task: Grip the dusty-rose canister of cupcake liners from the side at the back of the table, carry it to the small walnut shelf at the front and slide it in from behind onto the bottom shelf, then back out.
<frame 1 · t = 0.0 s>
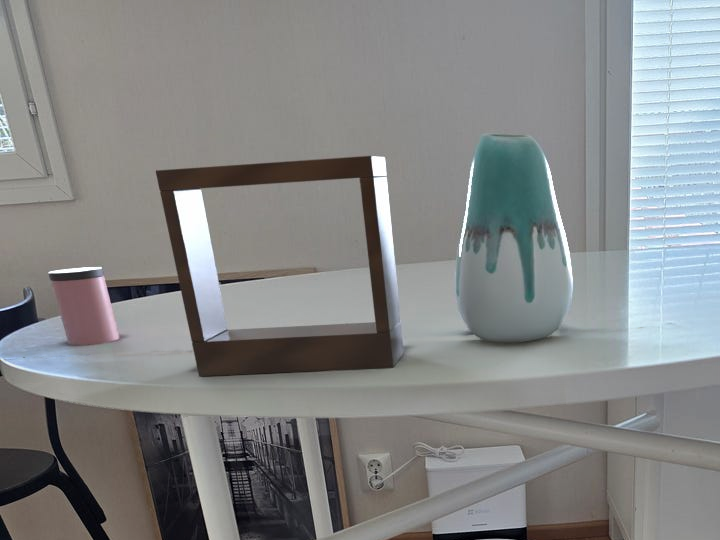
shelf: (304, 364, 80), on the table
vase: (515, 339, 86), on the table
liner canister: (95, 345, 98), on the table
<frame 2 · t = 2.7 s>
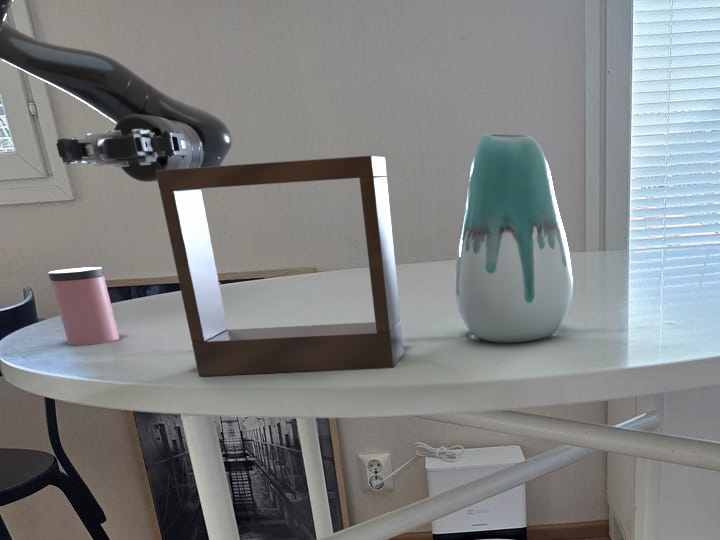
hand: (97, 147, 99), 20 cm above the table, tool horizontal, fingers open, 8 cm apart
nothing on the table moved.
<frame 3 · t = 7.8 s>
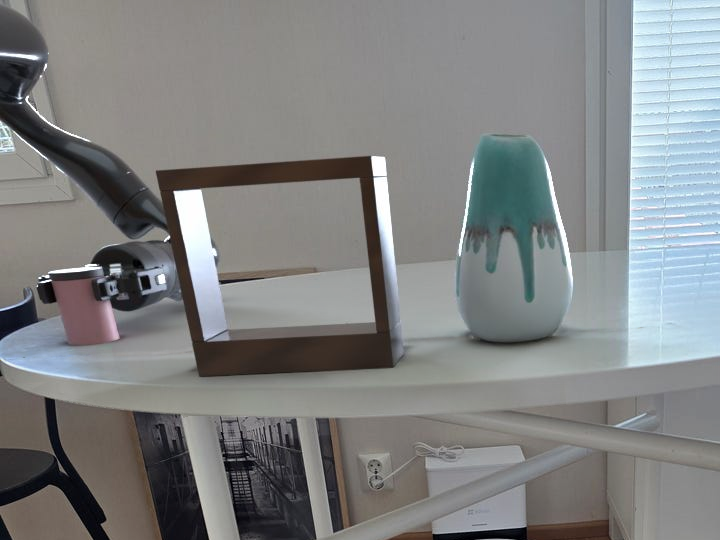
hand: (69, 292, 93), 6 cm above the table, tool horizontal, fingers closed on liner canister, 5 cm apart
liner canister: (95, 345, 98), on the table, touching gripper
everything else where it was.
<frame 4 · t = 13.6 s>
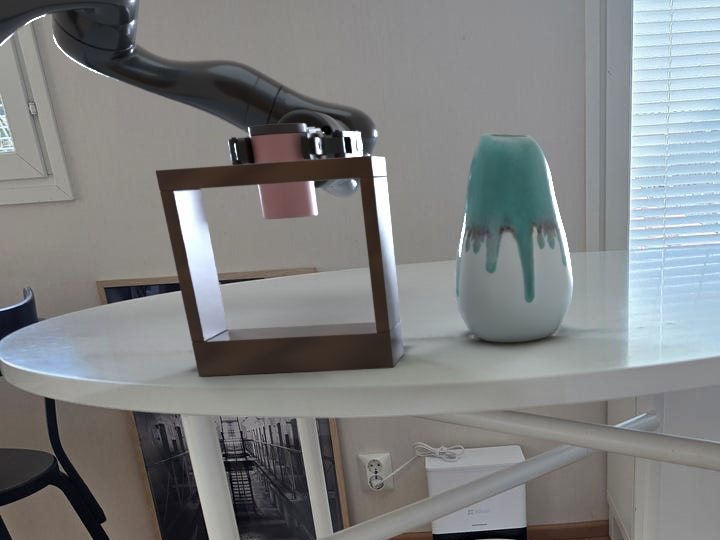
hand: (274, 148, 82), 18 cm above the table, tool horizontal, fingers closed on liner canister, 5 cm apart
liner canister: (291, 216, 87), point 12 cm above the table, touching gripper
everything else where it was.
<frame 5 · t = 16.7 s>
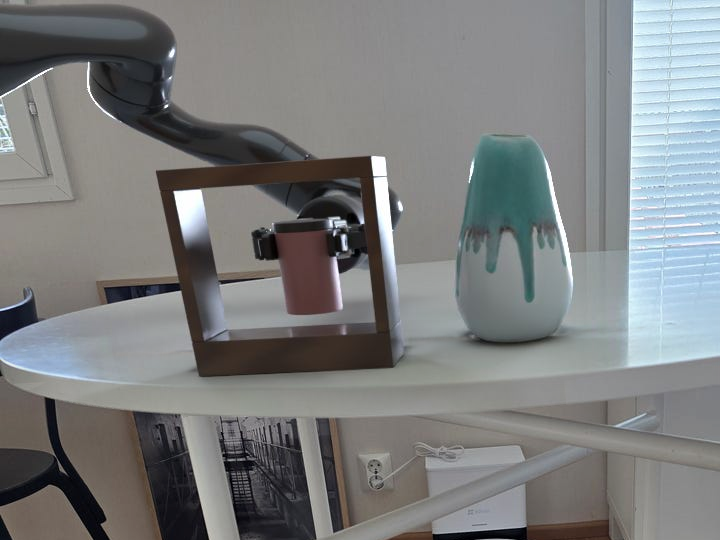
hand: (299, 246, 79), 10 cm above the table, tool horizontal, fingers closed on liner canister, 5 cm apart
liner canister: (315, 310, 84), point 4 cm above the table, touching gripper
everything else where it was.
when the fingers open (9 cm above the table, at t = 19.4 s): liner canister stays where it is, resting on shelf.
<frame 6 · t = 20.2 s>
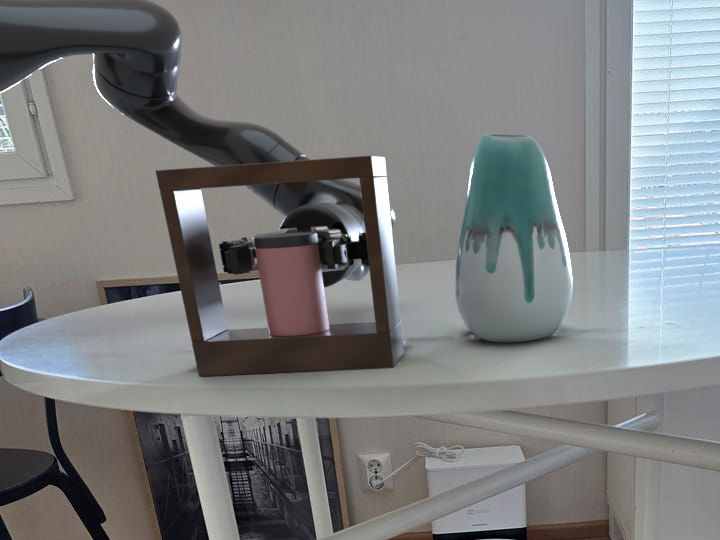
hand: (281, 258, 74), 9 cm above the table, tool horizontal, fingers open, 8 cm apart
liner canister: (299, 331, 78), point 3 cm above the table, touching shelf
everything else where it was.
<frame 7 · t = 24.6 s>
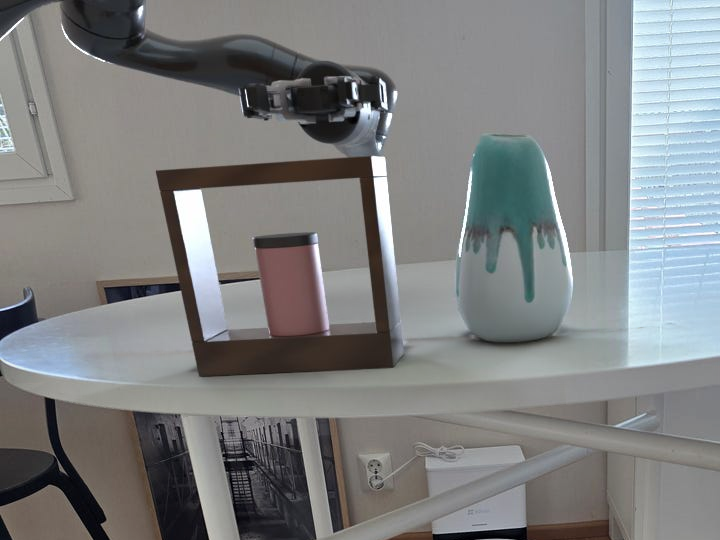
hand: (297, 93, 80), 22 cm above the table, tool horizontal, fingers open, 8 cm apart
nothing on the table moved.
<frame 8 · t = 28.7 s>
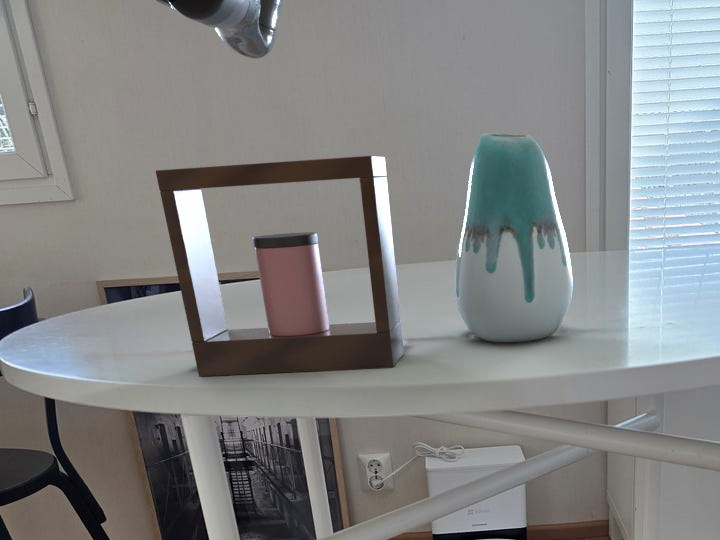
nothing on the table moved.
at the end: liner canister inside the target area on the shelf (0.1 cm from its centre), point 3.0 cm above the shelf's base; liner canister tilted 0°; the gripper is holding nothing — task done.
